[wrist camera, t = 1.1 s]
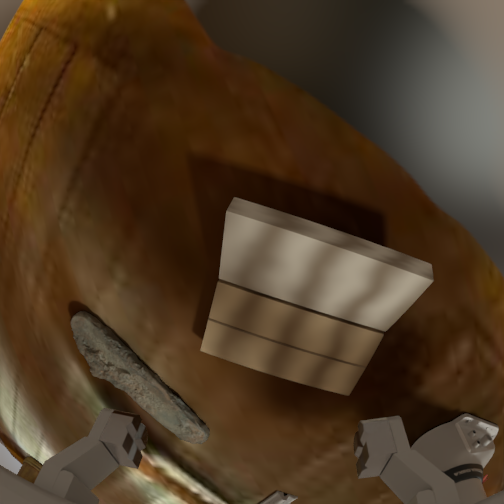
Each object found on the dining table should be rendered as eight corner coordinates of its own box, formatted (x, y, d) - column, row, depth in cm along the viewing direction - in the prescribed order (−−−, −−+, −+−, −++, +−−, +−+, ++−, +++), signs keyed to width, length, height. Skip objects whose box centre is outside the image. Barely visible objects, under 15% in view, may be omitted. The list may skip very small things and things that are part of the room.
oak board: (380, 325, 42) (384, 335, 40) (347, 385, 46) (348, 396, 44) (222, 275, 44) (217, 281, 42) (205, 342, 48) (200, 350, 46)
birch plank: (431, 264, 32) (433, 280, 31) (386, 316, 41) (385, 331, 40) (234, 196, 34) (226, 210, 33) (225, 264, 43) (218, 278, 42)
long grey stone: (192, 436, 59) (224, 421, 56) (186, 454, 54) (219, 440, 51) (68, 324, 53) (89, 297, 51) (53, 337, 48) (73, 310, 46)
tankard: (22, 454, 90) (-5, 485, 67) (39, 456, 84) (9, 493, 60) (48, 480, 93) (24, 512, 70) (69, 485, 86) (43, 522, 63)
